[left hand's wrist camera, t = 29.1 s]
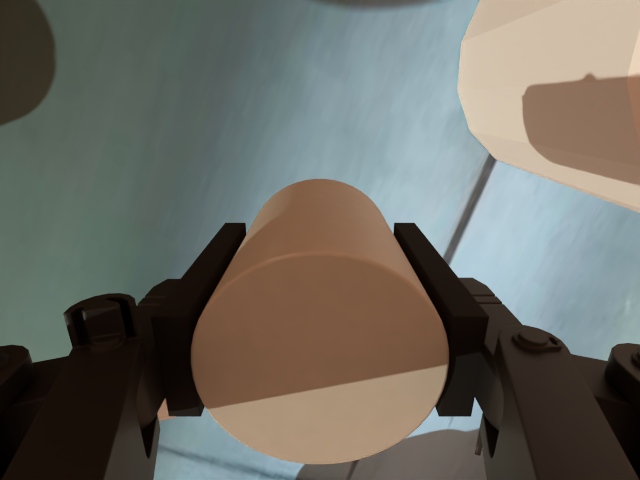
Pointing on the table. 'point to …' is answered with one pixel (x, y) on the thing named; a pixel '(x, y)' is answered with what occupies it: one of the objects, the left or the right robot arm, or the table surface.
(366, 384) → the canister
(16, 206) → the table surface
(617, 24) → the container
